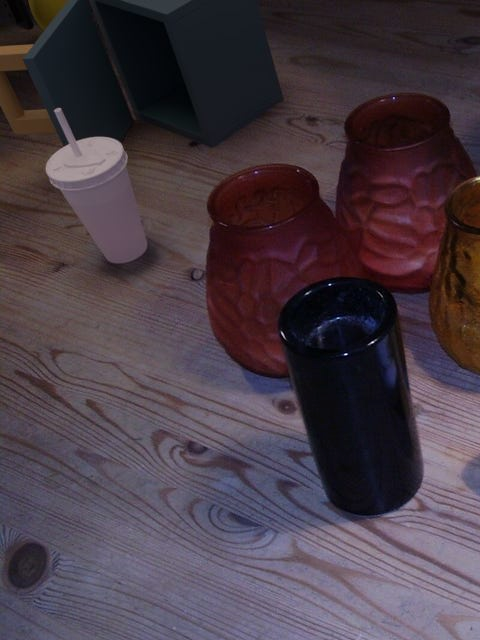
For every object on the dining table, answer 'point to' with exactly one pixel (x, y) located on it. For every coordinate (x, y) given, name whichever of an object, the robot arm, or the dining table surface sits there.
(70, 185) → the smoothie
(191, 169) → the dining table surface
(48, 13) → the lemon
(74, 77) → the cupboard door
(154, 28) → the cupboard
